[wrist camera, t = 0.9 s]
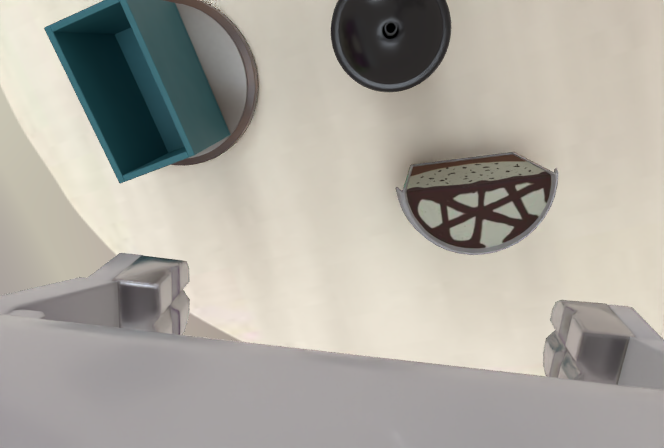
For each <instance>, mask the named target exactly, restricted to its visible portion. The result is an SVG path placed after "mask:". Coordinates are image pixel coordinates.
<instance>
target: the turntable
mask: <svg viewBox="0 0 664 448" xmlns="http://www.w3.org/2000/svg"><path fill="white" fill-rule="evenodd" d="M163 1H168V2H173V3H175V4H176V7H177V9H178V11H179V14H180V16H181V18H182V21H183V23H184V26H185V28H186V30H187V33H188V35H189V37H190V40H191V42H192V44H193V47H194V49H195V52H196V54H197V56H198V59H199V61H200V63H201V66H202V68H203V70H204V73H205V75H206V78H207V80H208V82H209V85H210V87H211V89H212V92H213V94H214V96H215V99H216V101H217V104H218V106H219V108H220V111H221V113H222V115H223V118H224V120H225V123H226V125H227V127H228V130H229V132H230V136H228V137H226V138H224V139H222V140H221V141H219V142H217V143H215V144H214V145H212V146H210V147H208V148H207V149H205V150H203V151H201V152H200V153H198V154H196V155H194V156H192V157H189V158H186V159H184V160H181V161H178V162H176V163H173V164H171V165H193V164H198V163H202V162H206V161H208V160H211V159H213V158H215V157H217V156H219V155H220V154H222V153H224V152H225V151H227V150H228V149H229V148H230V147H232V146H233V145H234V144H235V143H236V142H237V141H238V140H239V139H240V138H241V136H242V135H243V134H244V132H245V131H246V129H247V128H248V126H249V124H250V122H251V120H252V117H253V114H254V112H255V108H256V103H257V97H258V76H257V70H256V65H255V62H254V58H253V55H252V53H251V50H250V48H249V46H248V44H247V42H246V40H245V39H244V37H243V35H242V34H241V33H240V31H239V30H238V29H237V27H236V26H235V25H234V24H233V23H232V22H231V21H230V20H229V19H228V18H227V17H226V16H225V15H224V14H222V13H221V12H220V11H219V10H217V9H215V8H214V7H212V6H211V5H209V4H207V3H204V2H202V1H200V0H163Z"/></svg>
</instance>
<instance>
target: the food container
mask: <svg viewBox="0 0 664 448" xmlns="http://www.w3.org/2000/svg"><path fill="white" fill-rule="evenodd" d="M557 184H558V171H557V168H555V169H554V172H552V171H550V170H548V169H546V168H544V167H542V166H540V165H538V164H536V163H534V162H533V161H531V160H529V159H527V158H525V157H523V156H521V155H519V154H517V153H515V152H511V153H503V154H495V155H487V156H479V157H471V158H463V159H455V160H447V161H439V162H431V163H423V164H415V165H410V169H409V172H408V175H407V178H406V182H405V185H404V188H403V191H401V190H400V189H399V188H398V187H397V188H396V192H397V197H398V200H399V203H400V206H401V208H402V210H403V212H404V214H405V216H406V217H407V219H408V220H409V222H410V223H411V224H412V225H413V227H414V228H415V229H416V230H417V231H418V232H419V233H421V234H422V235H423V236H424V237H425V238H426V239H427V240H429V241H430V242H432V243H434V244H435V245H437V246H439V247H441V248H443V249H446V250H448V251H452V252H456V253H460V254H469V255H478V254H488V253H493V252H497V251H500V250H503V249H506V248H508V247H510V246H512V245H514V244H516V243H518V242H519V241H521V240H522V239H524V238H525V237H527V236H528V235H529V234H530V233H531V232H532V231H533V230H535V229H536V228H537V226H538V225H539V224H540V223H541V222H542V220H543V219H544V218H545V216H546V214H547V213H548V211H549V209H550V207H551V205H552V202H553V200H554V197H555V193H556V189H557Z"/></svg>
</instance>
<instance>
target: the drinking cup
mask: <svg viewBox="0 0 664 448" xmlns="http://www.w3.org/2000/svg"><path fill="white" fill-rule="evenodd" d="M450 36H451V18H450V12H449V8H448V5H447V2H446V0H338V2H337V4H336V7H335V9H334V13H333V16H332V22H331V40H332V46H333V49H334V52H335V55H336V58H337V60H338V62H339V63H340V65H341V66H342V68H343V69H344V71H345V72H346V73H347V74H348V75H349V76H350V77H351V78H352V79H353V80H355V81H356V82H357V83H359V84H361V85H362V86H364V87H367V88H369V89H372V90H375V91H380V92H398V91H403V90H406V89H409V88H412V87H414V86H416V85H418V84H420V83H421V82H423V81H424V80H426V79H427V78H428V77H429V76H430V75H431V74H432V73H433V72H434V71H435V70H436V69H437V67H438V66H439V65H440V63H441V62H442V60H443V58H444V56H445V54H446V51H447V49H448V46H449V42H450Z"/></svg>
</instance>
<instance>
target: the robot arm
mask: <svg viewBox="0 0 664 448" xmlns="http://www.w3.org/2000/svg"><path fill="white" fill-rule="evenodd" d="M188 282H189V266H188V263H187V261H182V260H173V259H165V258H157V257H149V256H143V255H137V254H126V253H119V254H118V255H117V256H115V257H114V258H113V259H111V260H110V261H109V262H107V263H106V264H105V265H103V266H102V267H101V268H100V269H98V270H97V271H96V272H94V273H93V274H91V275H90V276H89V277H88V278H82V277H79V278H75V279H70V280H66V281H62V282H57V283H53V284H49V285H44V286H40V287H35V288H32V289H27V290H22V291H18V292H14V293H9V294H6V295H1V296H0V448H664V340H663V339H662V338H661V337H660V335H659V334H658V333H657V332H656V331H655V330H654V329H653V328H652V327H651V326H650V325H649V324H648V323H647V322H646V321H645V320H644V319H643V318H642V317H641V316H640V315H639V314H638V313H637V312H636V311H635V310H634V309H633V308H632V307H629V306H619V305H607V304H603V303H591V302H579V301H567V300H559V301H557V302H555V305H554V307H553V309H552V313H551V318H550V321H551V323H552V325H553V327H554V329H555V331H554V332H553V333H552V334H551V335H549V336H548V337H547V338H546V341H545V347H544V352H543V366H544V371H545V374H546V376H537V375H529V374H520V373H511V372H502V371H494V370H485V369H476V368H467V367H458V366H450V365H441V364H432V363H423V362H414V361H406V360H397V359H388V358H379V357H371V356H362V355H353V354H344V353H335V352H327V351H318V350H309V349H300V348H291V347H283V346H274V345H265V344H256V343H247V342H239V341H230V340H221V339H212V338H203V337H195V336H185V335H183V333H184V332H185V328H186V325H187V322H188V317H189V305H190V299H189V298H188V296H187V295H186V294H185V292H184V291H183V289H184V287H185V286H186V285H187V284H188Z"/></svg>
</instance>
